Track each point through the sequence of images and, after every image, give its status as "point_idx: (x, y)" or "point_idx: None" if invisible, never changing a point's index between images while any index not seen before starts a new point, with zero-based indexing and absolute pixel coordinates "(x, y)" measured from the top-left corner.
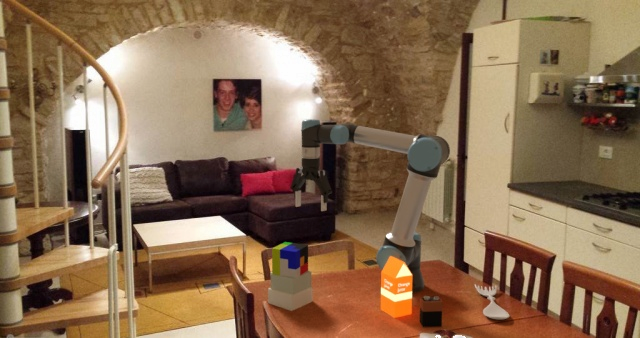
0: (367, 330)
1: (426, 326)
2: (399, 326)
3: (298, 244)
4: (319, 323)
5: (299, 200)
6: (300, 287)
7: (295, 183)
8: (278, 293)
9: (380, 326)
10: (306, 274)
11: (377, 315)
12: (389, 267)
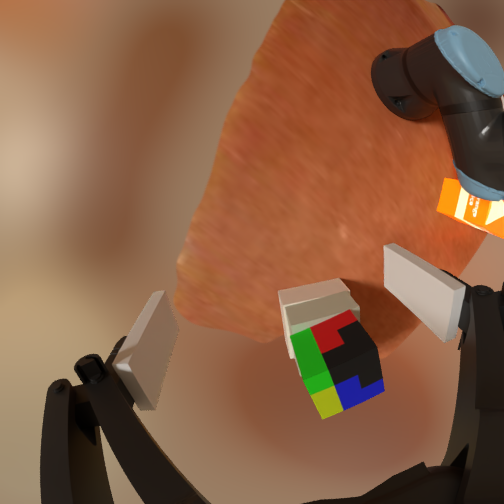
0: None
1: None
2: (471, 239)
3: (352, 364)
4: (398, 319)
5: (159, 327)
6: None
7: (92, 451)
8: None
9: (457, 259)
10: (359, 321)
11: (443, 233)
12: (500, 225)
